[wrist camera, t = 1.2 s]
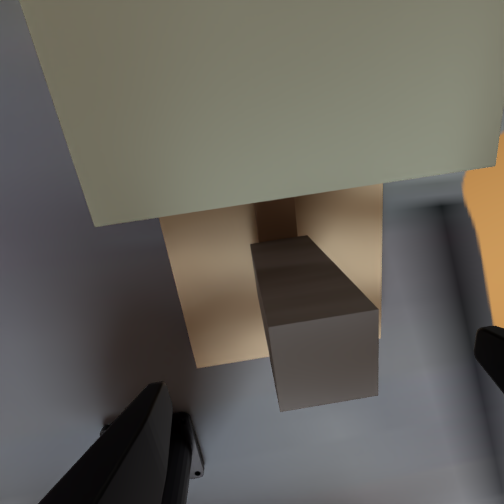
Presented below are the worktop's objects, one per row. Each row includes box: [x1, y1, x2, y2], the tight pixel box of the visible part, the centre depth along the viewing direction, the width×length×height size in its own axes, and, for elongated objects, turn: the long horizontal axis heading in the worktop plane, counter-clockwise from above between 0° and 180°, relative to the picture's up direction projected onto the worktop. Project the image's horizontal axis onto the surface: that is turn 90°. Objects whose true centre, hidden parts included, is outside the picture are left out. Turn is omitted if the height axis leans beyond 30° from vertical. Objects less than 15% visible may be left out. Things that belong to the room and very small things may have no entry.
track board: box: [159, 183, 383, 368], centre depth 15 cm, size 22×12×2 cm, turn 8°
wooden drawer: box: [250, 197, 379, 412], centre depth 10 cm, size 13×8×8 cm, turn 8°
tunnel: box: [19, 0, 504, 227], centre depth 10 cm, size 7×12×7 cm, turn 98°
